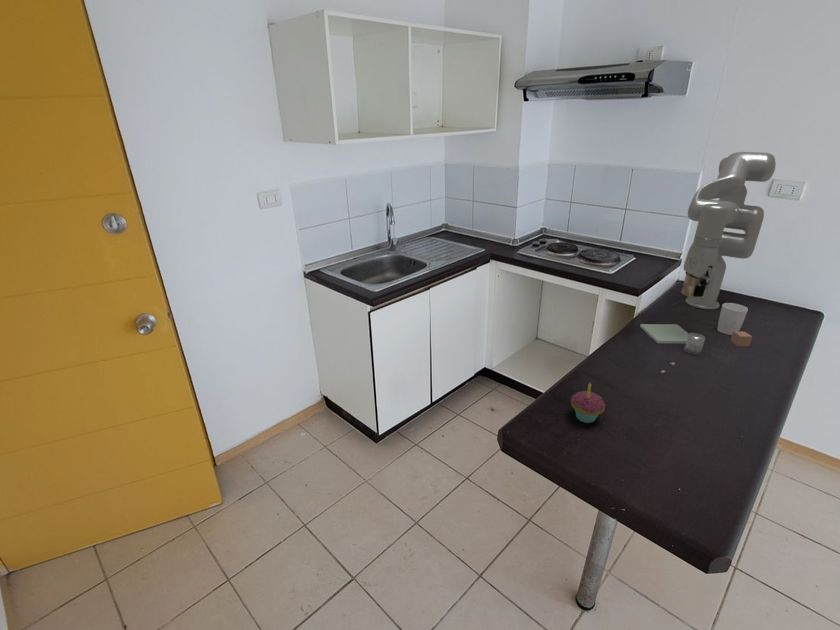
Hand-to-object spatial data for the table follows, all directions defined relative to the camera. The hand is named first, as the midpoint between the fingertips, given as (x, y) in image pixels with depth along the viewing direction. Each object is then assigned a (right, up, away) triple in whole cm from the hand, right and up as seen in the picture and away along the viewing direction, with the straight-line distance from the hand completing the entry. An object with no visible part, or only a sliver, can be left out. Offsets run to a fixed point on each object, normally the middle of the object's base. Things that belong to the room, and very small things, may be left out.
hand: (693, 292), depth 154 cm
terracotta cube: (+18, -18, +3) cm, 26 cm away
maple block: (0, -1, 0) cm, 1 cm away
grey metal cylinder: (-2, -20, -3) cm, 21 cm away
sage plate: (-4, -15, +9) cm, 18 cm away
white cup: (+20, -14, +12) cm, 27 cm away
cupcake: (-51, -35, -36) cm, 72 cm away
